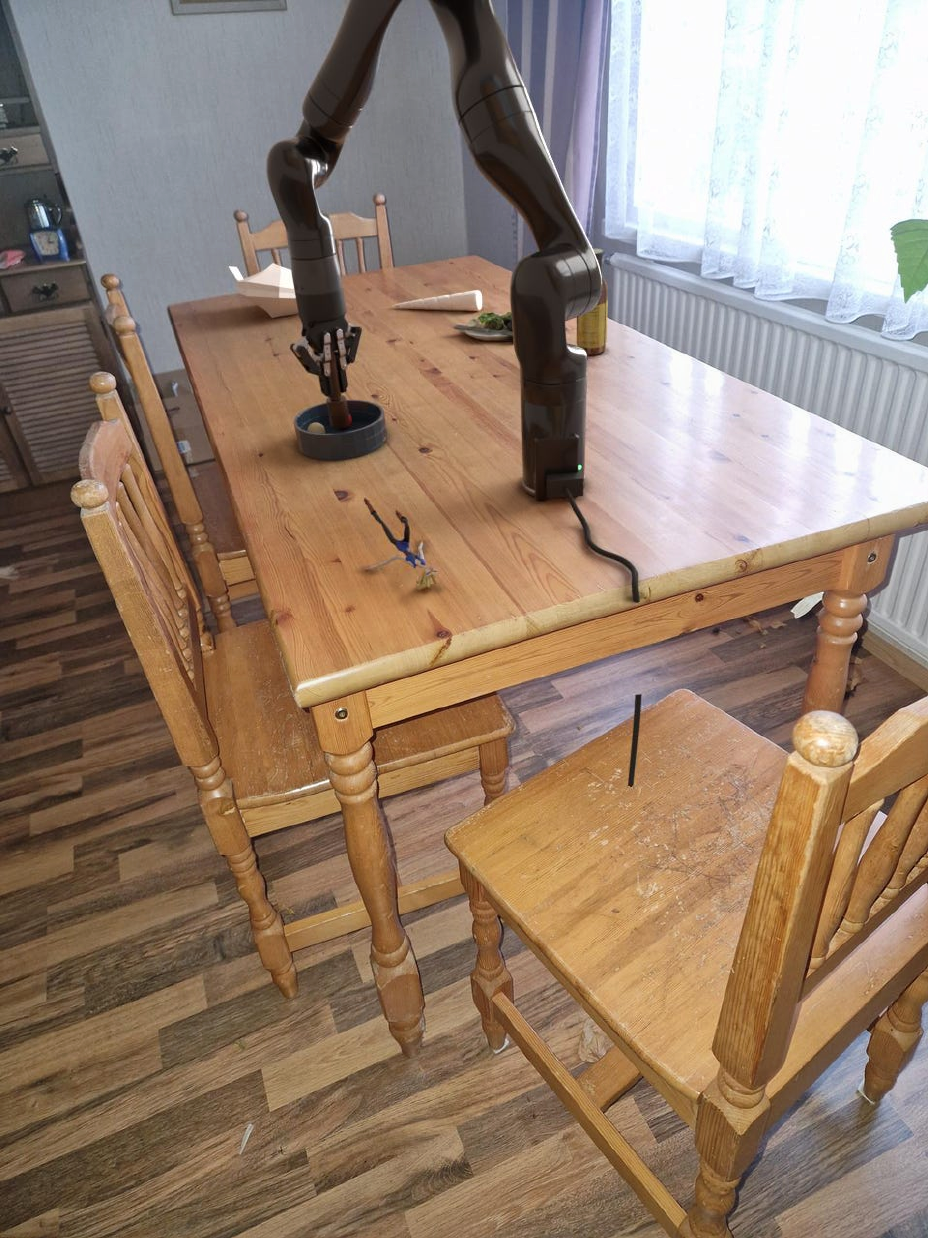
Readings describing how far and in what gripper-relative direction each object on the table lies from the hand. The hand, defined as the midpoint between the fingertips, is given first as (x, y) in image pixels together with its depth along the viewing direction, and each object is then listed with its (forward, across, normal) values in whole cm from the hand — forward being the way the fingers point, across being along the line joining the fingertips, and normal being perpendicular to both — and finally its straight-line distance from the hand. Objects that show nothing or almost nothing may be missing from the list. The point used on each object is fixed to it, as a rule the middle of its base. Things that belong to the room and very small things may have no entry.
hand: (335, 393), depth 136 cm
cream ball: (+6, -3, +3) cm, 8 cm away
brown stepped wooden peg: (+5, 0, 0) cm, 5 cm away
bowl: (+8, 0, 0) cm, 8 cm away
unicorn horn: (+9, +66, +43) cm, 80 cm away
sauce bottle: (+9, +61, -8) cm, 62 cm away
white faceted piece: (+9, +44, +78) cm, 90 cm away
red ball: (+6, +3, +3) cm, 8 cm away
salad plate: (+9, +62, +17) cm, 64 cm away
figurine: (+8, -22, -40) cm, 46 cm away
